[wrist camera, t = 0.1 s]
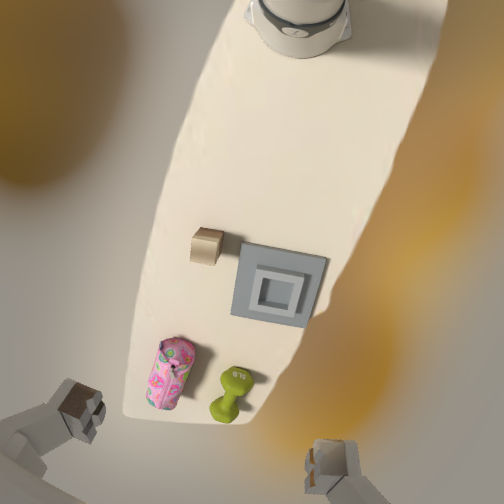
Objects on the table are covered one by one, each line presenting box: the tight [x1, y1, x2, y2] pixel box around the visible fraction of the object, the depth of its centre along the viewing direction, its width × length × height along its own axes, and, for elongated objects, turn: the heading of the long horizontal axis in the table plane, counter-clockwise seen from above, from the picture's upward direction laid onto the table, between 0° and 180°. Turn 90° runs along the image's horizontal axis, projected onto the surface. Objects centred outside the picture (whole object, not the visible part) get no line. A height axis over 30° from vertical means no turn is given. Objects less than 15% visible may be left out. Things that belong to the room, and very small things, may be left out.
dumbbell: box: [209, 367, 254, 423], centre depth 70 cm, size 16×8×7 cm, turn 162°
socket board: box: [230, 241, 326, 328], centre depth 60 cm, size 16×16×3 cm
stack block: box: [190, 227, 224, 266], centre depth 56 cm, size 4×4×6 cm
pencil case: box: [146, 338, 195, 410], centre depth 69 cm, size 21×9×9 cm, turn 157°
